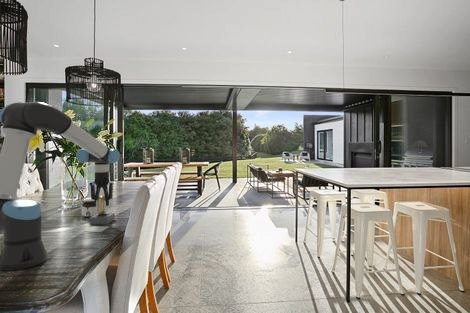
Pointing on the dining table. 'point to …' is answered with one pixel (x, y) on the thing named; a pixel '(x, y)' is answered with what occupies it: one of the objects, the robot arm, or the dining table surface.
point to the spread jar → (88, 208)
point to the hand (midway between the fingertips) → (101, 211)
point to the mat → (96, 229)
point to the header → (102, 218)
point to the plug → (101, 206)
